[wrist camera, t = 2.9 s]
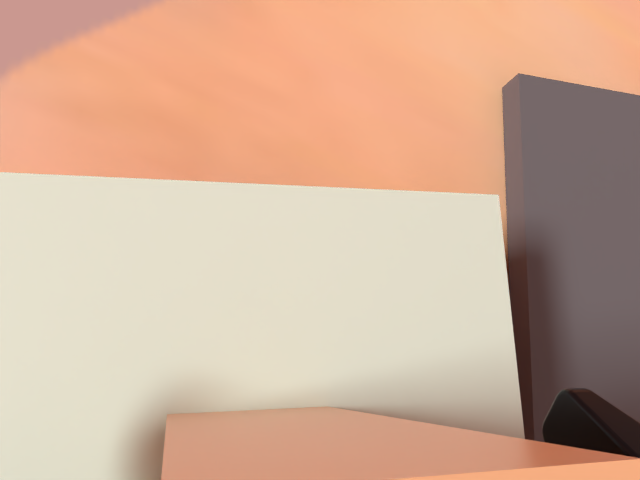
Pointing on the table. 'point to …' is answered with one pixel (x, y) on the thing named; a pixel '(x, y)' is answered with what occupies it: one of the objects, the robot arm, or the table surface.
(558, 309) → the mat
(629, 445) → the robot arm
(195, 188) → the lid
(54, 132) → the table surface
